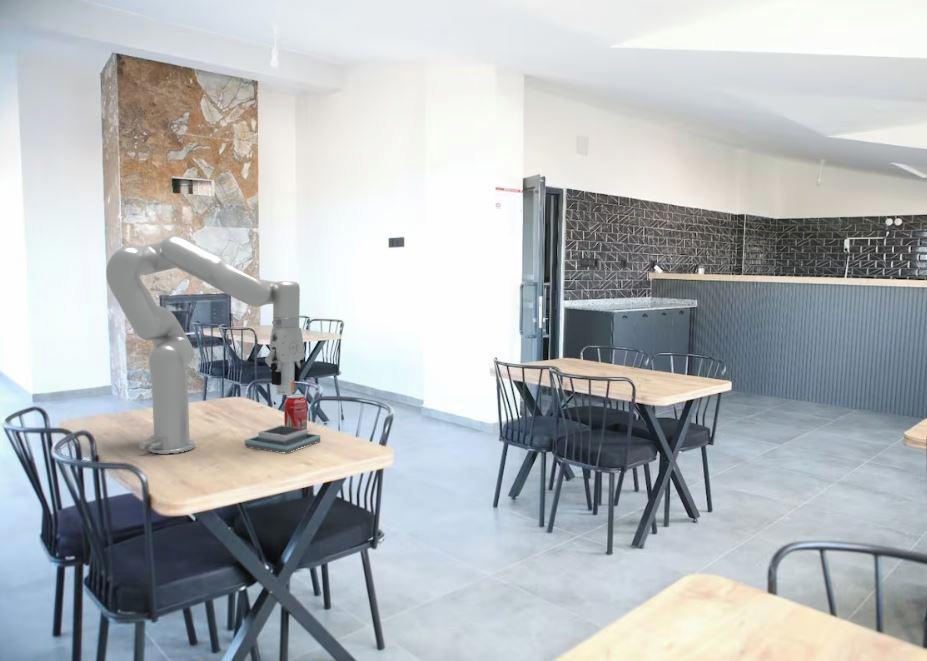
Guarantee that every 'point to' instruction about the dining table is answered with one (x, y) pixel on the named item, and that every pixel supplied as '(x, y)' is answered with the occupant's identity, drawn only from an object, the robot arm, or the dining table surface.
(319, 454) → the dining table surface
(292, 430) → the tray
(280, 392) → the skincare box
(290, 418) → the soda can
